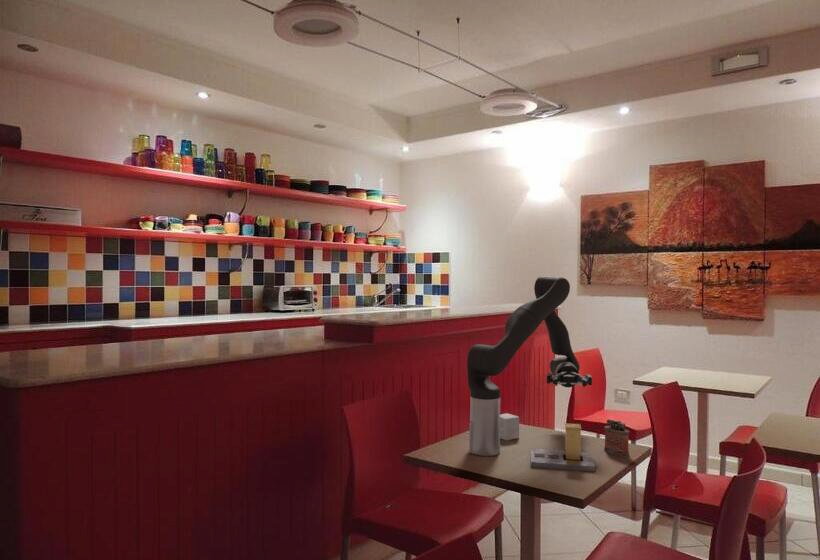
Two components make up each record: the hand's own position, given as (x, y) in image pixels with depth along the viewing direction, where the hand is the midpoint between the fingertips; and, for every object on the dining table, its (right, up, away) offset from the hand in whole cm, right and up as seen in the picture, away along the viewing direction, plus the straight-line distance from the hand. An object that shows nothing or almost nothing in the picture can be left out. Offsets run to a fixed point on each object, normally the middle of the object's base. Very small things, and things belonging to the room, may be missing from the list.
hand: (570, 383), depth 180 cm
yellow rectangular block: (-3, -21, -13) cm, 25 cm away
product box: (-18, -21, +14) cm, 31 cm away
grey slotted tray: (-6, -21, -12) cm, 25 cm away
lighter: (+14, -21, -3) cm, 25 cm away
